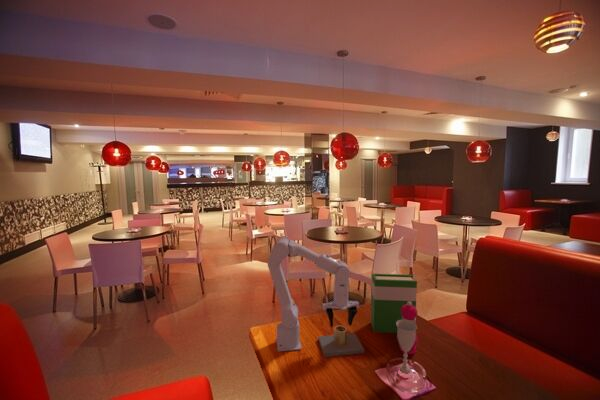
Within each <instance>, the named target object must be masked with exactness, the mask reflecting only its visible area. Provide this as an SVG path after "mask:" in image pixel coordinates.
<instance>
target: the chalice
mask: <svg viewBox="0 0 600 400" xmlns="http://www.w3.org/2000/svg"><path fill="white" fill-rule="evenodd" d="M396 325H397V327H398V328H397V333H396V339H397V341H398V344H400V346H401V349H402V350H403V351H404V352H403V354H402V357H403V359H402V362H403V364H402V363H401V364H400V365H399V366H400V367H399V366H398V368H400V371H401V372H402V373H405V374H408V373H410V370H411V368H410V367H409V366H408V365H407V363H408V356H409V354H407V352H408V351H410V349H411V348H412V346H413V344H414V342H415V334H416V335H417V331H416V330H418V325H417V324H416V322H415V323H414V322H412V321H410V320H405V319H403V320H398V321H397V322H396Z"/></svg>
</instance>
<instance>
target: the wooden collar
mask: <svg viewBox="0 0 600 400" xmlns="http://www.w3.org/2000/svg"><path fill="white" fill-rule="evenodd" d="M347 334H348V328H347V327H346V326H344V325H342V324H340V325H339V324H338V325H335V326H333V335H334V343H335V345H337V346H339V347H343V346H346V344H347Z"/></svg>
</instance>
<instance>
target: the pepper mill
mask: <svg viewBox="0 0 600 400" xmlns="http://www.w3.org/2000/svg"><path fill="white" fill-rule="evenodd" d="M401 313H402V315H403V316H402V320H403V319H405V320H410V321H412V322H414V323H416V320H417V317H418V309H417V307H416V308H415V307H414V306H413V305H412V303H411V302H410V301H408V302H407V304H406V305H403V306H402V308H401ZM418 342H419V340H418V335H417V333H416V334H415V342H414V344H413V346H412V348H411V349H410V351H408V352H407V355H414V354H416V352H417V346H418ZM398 344H399V343H398ZM398 348H399V351H401V352H402V353H404V351H403V350H402V349H401V346H400V344H399V347H398Z"/></svg>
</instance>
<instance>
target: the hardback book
mask: <svg viewBox="0 0 600 400" xmlns="http://www.w3.org/2000/svg"><path fill="white" fill-rule="evenodd" d="M417 289H418V280H416V279H415V280H414V279H413V274H398V273H397V274H396V273H393V274H392V273H372V274H371V305H370V324H371V327H372V330H373V333H384V334H385V333H387V334H390V333H391V334H397V328H398V327H397V325H396V322H397V321H398V320H402V316H403V315H402V313H401V308H402V306H403V305H406V304H407V302H408V301H410V302H411V303H412V305H413V306H414V307H415V308H416V309H417V295H418V294H417Z"/></svg>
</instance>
